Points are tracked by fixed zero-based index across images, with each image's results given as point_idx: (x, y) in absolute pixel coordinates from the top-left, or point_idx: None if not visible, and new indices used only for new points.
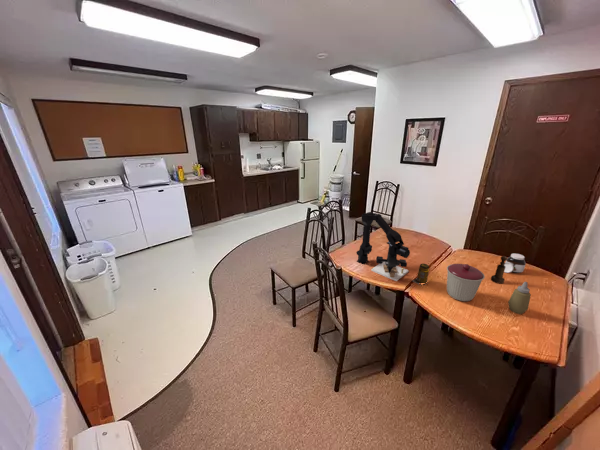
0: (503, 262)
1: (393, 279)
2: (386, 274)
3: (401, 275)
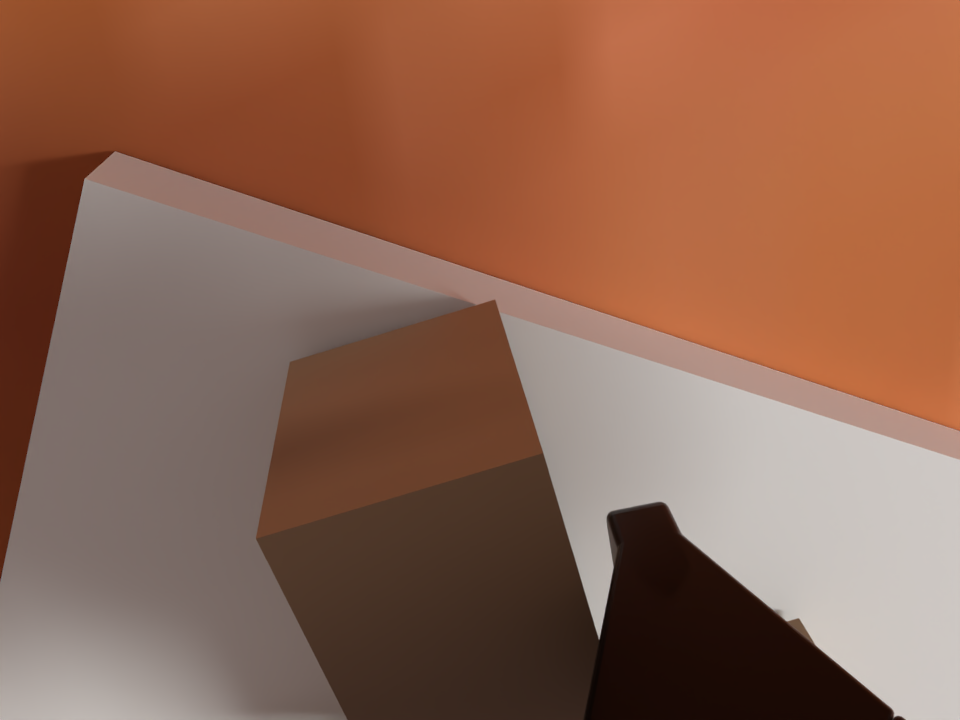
0: None
1: (304, 227)
2: (710, 472)
3: (2, 686)
